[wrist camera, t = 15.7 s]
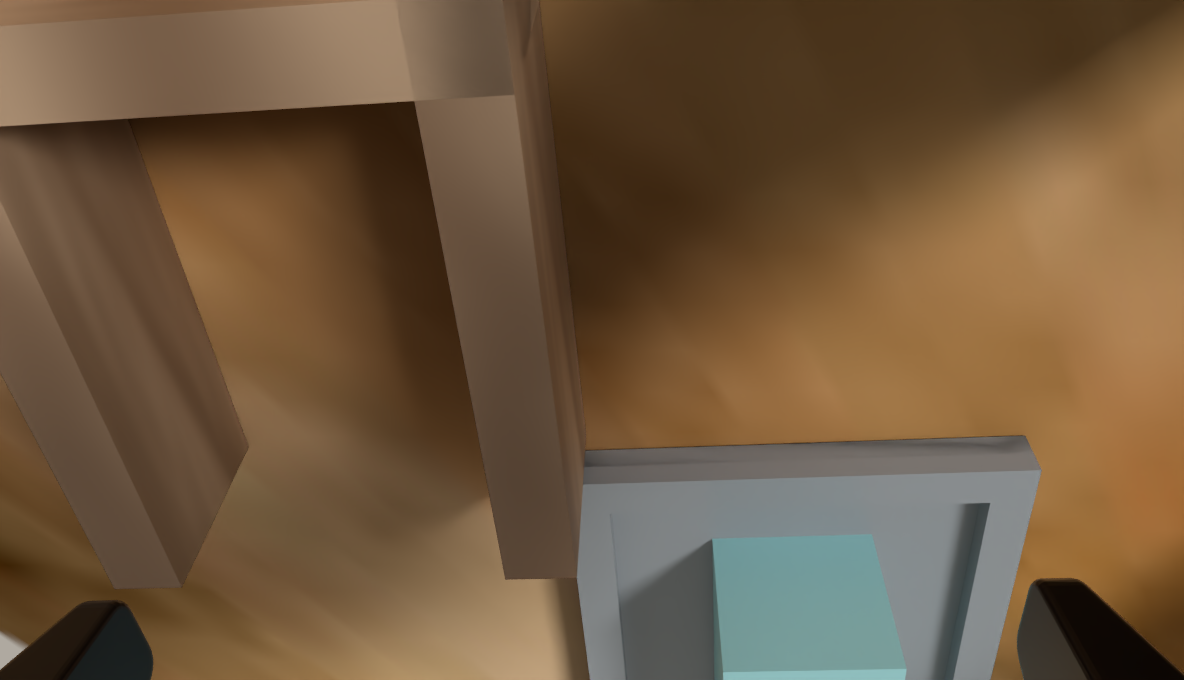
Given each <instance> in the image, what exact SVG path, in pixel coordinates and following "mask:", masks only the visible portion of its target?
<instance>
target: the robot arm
mask: <svg viewBox="0 0 1184 680" xmlns="http://www.w3.org/2000/svg"><path fill="white" fill-rule="evenodd" d="M1017 649H1018V656H1019V661H1020V666H1021V670H1022V674H1023V678H1024V680H1184V673H1183V672H1182V671H1181V670H1179V669H1178V668H1177V667H1176V666H1175V665H1174V664H1173V663H1172V662H1171V661H1170V660H1169V659H1167V658H1166V657H1165V656H1164V655H1163V654H1162V653H1161V652H1160V651H1159V650H1158V649H1156V648H1155V647H1154V646H1153V645H1152V644H1151V643H1150V642H1149V641H1148V640H1147V639H1145V638H1144V637H1143V636H1142V635H1141V634H1140V633H1139V632H1138V631H1137V630H1136V629H1134V628H1133V627H1132V626H1131V625H1130V624H1129V623H1128V622H1127V621H1126V620H1125V619H1124V618H1122V617H1121V616H1120V615H1119V614H1118V613H1117V612H1116V611H1115V610H1114V609H1113V608H1111V607H1110V606H1109V605H1108V604H1107V603H1106V602H1105V601H1104V600H1103V599H1102V598H1100V597H1099V596H1098V595H1097V594H1096V593H1095V592H1094V591H1093V590H1092V589H1091V588H1089V587H1088V586H1087V585H1086V584H1085V583H1083V582H1082V581H1080V580H1078V579H1074V578H1046V579H1037V580H1035V581H1034V582H1033V583H1032V584H1031V586H1030V588H1029V591H1028V595H1027V599H1026V603H1025V607H1024V610H1023V614H1022V618H1021V622H1020V626H1019V630H1018V635H1017ZM152 671H153V655H152V651H151V648H150V646H149V644H148V642H147V640H146V638H145V636H144V634H143V632H142V630H141V628H140V627H139V625H138V623H137V621H136V619H135V617H134V615H133V613H132V611H131V609H130V608H129V606H128V605H127V604H125V603H124V602H122V601H118V600H108V601H87V602H84V603H81V604H79V605H78V606H76V607H75V608H73V609H72V610H71V611H70V612H68V613H67V614H66V615H65V616H64V617H63V618H61V619H60V620H59V621H58V622H57V623H55V624H54V625H53V626H52V627H51V628H49V629H48V630H47V631H46V632H45V633H43V634H42V635H41V636H40V637H39V638H38V639H36V640H35V641H34V642H33V643H32V644H30V645H29V646H28V647H27V648H26V649H24V650H23V651H22V652H21V653H20V654H19V655H17V656H16V657H15V658H14V659H13V660H11V661H10V662H9V663H8V664H7V665H5V666H4V667H3V668H2V669H1V670H0V680H151V676H152Z"/></svg>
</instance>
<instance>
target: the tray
mask: <svg viewBox="0 0 1184 680" xmlns="http://www.w3.org/2000/svg"><path fill="white" fill-rule="evenodd" d="M1041 471H1042V470H1041V468H1040V466H1039V464H1038V461H1037V459H1036V457H1035V455H1034V453H1033V451H1032V449H1031V447H1030V445H1029V443H1028V441H1027V438H1026V436H1003V437H973V438H944V439H914V440H885V441H856V442H826V443H797V444H767V445H738V446H709V447H679V448H650V449H620V450H591V451H585V461H584V476H583V492H582V507H581V523H580V538H579V554H578V569H577V583H578V591H579V599H580V607H581V614H582V622H583V630H584V638H585V645H586V653H587V661H588V668H589V676H590V680H714V618H713V553H712V539H722V538H758V537H793V536H829V535H865V534H872V536H873V540H874V544H875V548H876V552H877V556H878V560H879V563H880V567H881V571H882V575H883V579H884V583H885V587H886V591H887V595H888V598H889V602H890V606H891V610H892V614H893V618H894V622H895V626H896V629H897V633H898V637H899V641H900V645H901V649H902V653H903V657H904V660H905V664H906V668H907V670H906V676H905V680H990V679H991V675H992V671H993V667H994V663H995V659H996V655H997V651H998V647H999V643H1000V638H1001V634H1002V630H1003V626H1004V622H1005V618H1006V614H1007V610H1008V606H1009V602H1010V598H1011V593H1012V589H1013V585H1014V581H1015V577H1016V573H1017V569H1018V565H1019V561H1020V557H1021V553H1022V548H1023V544H1024V540H1025V536H1026V532H1027V528H1028V524H1029V520H1030V516H1031V512H1032V508H1033V504H1034V499H1035V495H1036V491H1037V487H1038V483H1039V479H1040V475H1041Z"/></svg>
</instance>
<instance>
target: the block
mask: <svg viewBox="0 0 1184 680" xmlns="http://www.w3.org/2000/svg"><path fill="white" fill-rule="evenodd" d="M712 553H713V618H714V680H905V676H906V670H907V668H906V664H905V660H904V657H903V653H902V649H901V645H900V641H899V637H898V633H897V629H896V626H895V622H894V618H893V614H892V610H891V606H890V602H889V598H888V595H887V591H886V587H885V583H884V579H883V575H882V571H881V567H880V563H879V560H878V556H877V552H876V548H875V544H874V540H873V536H872V534H865V535H829V536H793V537H758V538H722V539H712Z"/></svg>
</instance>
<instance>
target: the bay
mask: <svg viewBox="0 0 1184 680" xmlns="http://www.w3.org/2000/svg"><path fill="white" fill-rule="evenodd" d="M405 101H414V102H415V107H416V113H417V118H418V123H419V128H420V134H421V139H422V144H423V149H424V155H425V160H426V165H427V170H428V176H429V181H430V186H431V191H432V197H433V202H434V207H435V212H436V218H437V223H438V228H439V233H440V239H441V244H442V249H443V254H444V260H445V265H446V270H447V275H448V281H449V286H450V291H451V296H452V302H453V307H454V312H455V317H456V323H457V328H458V333H459V338H460V344H461V349H462V354H463V359H464V365H465V370H466V375H467V380H468V386H469V391H470V396H471V401H472V407H473V412H474V417H475V422H476V428H477V433H478V438H479V443H480V449H481V454H482V459H483V464H484V470H485V475H486V480H487V485H488V491H489V496H490V501H491V506H492V512H493V517H494V522H495V527H496V533H497V538H498V543H499V548H500V554H501V559H502V564H503V569H504V575H505V580H508V579H549V578H577V569H578V554H579V538H580V523H581V507H582V492H583V476H584V461H585V445H586V429H585V420H584V411H583V401H582V392H581V383H580V374H579V365H578V355H577V346H576V337H575V328H574V318H573V309H572V300H571V291H570V281H569V272H568V263H567V254H566V244H565V235H564V226H563V217H562V207H561V198H560V189H559V180H558V170H557V161H556V152H555V143H554V133H553V124H552V115H551V106H550V96H549V87H548V78H547V69H546V59H545V50H544V41H543V32H542V23H541V13H540V4H539V0H0V373H1V375H2V377H3V379H4V381H5V383H6V385H7V386H8V388H9V390H10V392H11V394H12V396H13V398H14V400H15V402H16V403H17V405H18V407H19V409H20V411H21V413H22V415H23V417H24V419H25V421H26V422H27V424H28V426H29V428H30V430H31V432H32V434H33V436H34V438H35V439H36V441H37V443H38V445H39V447H40V449H41V451H42V453H43V455H44V456H45V458H46V460H47V462H48V464H49V466H50V468H51V470H52V472H53V473H54V475H55V477H56V479H57V481H58V483H59V485H60V487H61V489H62V491H63V492H64V494H65V496H66V498H67V500H68V502H69V504H70V506H71V508H72V509H73V511H74V513H75V515H76V517H77V519H78V521H79V523H80V525H81V526H82V528H83V530H84V532H85V534H86V536H87V538H88V540H89V542H90V543H91V545H92V547H93V549H94V551H95V553H96V555H97V557H98V559H99V561H100V562H101V564H102V566H103V568H104V570H105V572H106V574H107V576H108V578H109V579H110V581H111V583H112V585H113V587H114V589H137V588H179V587H182V586H183V584H184V582H185V580H186V578H187V576H188V573H189V571H190V569H191V567H192V565H193V563H194V561H195V559H196V557H197V554H198V552H199V550H200V548H201V546H202V544H203V542H204V540H205V538H206V536H207V533H208V531H209V529H210V527H211V525H212V523H213V521H214V519H215V517H216V515H217V512H218V510H219V508H220V506H221V504H222V502H223V500H224V498H225V496H226V494H227V491H228V489H229V487H230V485H231V483H232V481H233V479H234V477H235V475H236V472H237V470H238V468H239V466H240V464H241V462H242V460H243V458H244V456H245V454H246V451H247V449H248V444H247V442H246V439H245V436H244V433H243V431H242V428H241V425H240V423H239V420H238V417H237V414H236V412H235V409H234V406H233V404H232V401H231V398H230V395H229V393H228V390H227V387H226V385H225V382H224V379H223V376H222V374H221V371H220V368H219V365H218V363H217V360H216V357H215V355H214V352H213V349H212V346H211V344H210V341H209V338H208V336H207V333H206V330H205V327H204V325H203V322H202V319H201V317H200V314H199V311H198V308H197V306H196V303H195V300H194V298H193V295H192V292H191V289H190V287H189V284H188V281H187V279H186V276H185V273H184V270H183V268H182V265H181V262H180V260H179V257H178V254H177V251H176V249H175V246H174V243H173V241H172V238H171V235H170V232H169V230H168V227H167V224H166V222H165V219H164V216H163V213H162V211H161V208H160V205H159V203H158V200H157V197H156V194H155V192H154V189H153V186H152V184H151V181H150V178H149V175H148V173H147V170H146V167H145V165H144V162H143V159H142V156H141V154H140V151H139V148H138V146H137V143H136V140H135V137H134V135H133V132H132V129H131V126H130V124H129V121H128V119H129V118H145V117H162V116H178V115H194V114H210V113H227V112H243V111H259V110H275V109H291V108H308V107H324V106H340V105H356V104H373V103H389V102H405Z"/></svg>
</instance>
